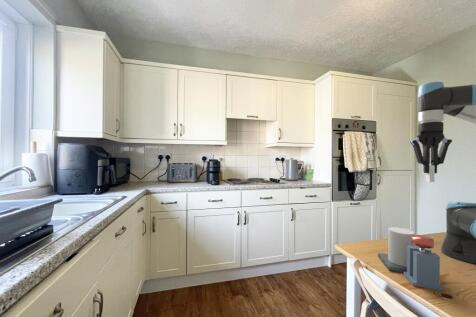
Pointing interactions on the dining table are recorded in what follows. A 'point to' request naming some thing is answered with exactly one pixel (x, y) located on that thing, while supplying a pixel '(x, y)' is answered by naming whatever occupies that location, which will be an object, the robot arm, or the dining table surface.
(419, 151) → the robot arm
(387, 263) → the press bed
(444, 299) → the dining table surface
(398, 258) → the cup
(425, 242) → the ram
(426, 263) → the press frame
